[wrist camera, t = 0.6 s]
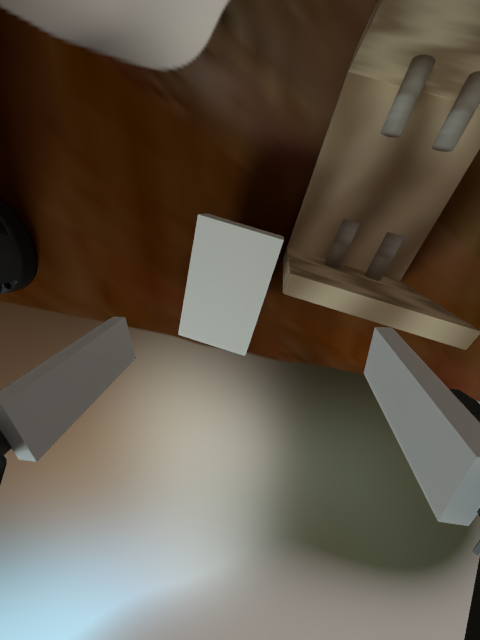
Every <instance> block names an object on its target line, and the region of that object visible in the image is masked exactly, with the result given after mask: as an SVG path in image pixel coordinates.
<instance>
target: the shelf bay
mask: <svg viewBox="0 0 480 640" xmlns="http://www.w3.org/2000/svg"><path fill="white" fill-rule="evenodd" d="M479 149H480V0H378V1H377V4H376V6H375V8H374V10H373V12H372V15H371V17H370V19H369V21H368V23H367V26H366V28H365V30H364V32H363V34H362V37H361V39H360V41H359V43H358V45H357V48H356V50H355V52H354V54H353V57H352V60H351V63H350V66H349V69H348V72H347V74H346V77H345V80H344V83H343V86H342V89H341V92H340V95H339V98H338V100H337V103H336V106H335V109H334V112H333V115H332V118H331V121H330V124H329V127H328V129H327V132H326V135H325V138H324V141H323V144H322V147H321V150H320V153H319V156H318V158H317V161H316V164H315V167H314V170H313V173H312V176H311V179H310V182H309V185H308V187H307V190H306V193H305V196H304V199H303V202H302V205H301V208H300V211H299V214H298V216H297V219H296V222H295V225H294V228H293V231H292V234H291V237H290V240H289V243H288V245H287V248H286V251H285V254H284V257H283V294H286V295H289V296H293V297H296V298H299V299H302V300H305V301H309V302H312V303H315V304H318V305H322V306H325V307H328V308H331V309H335V310H338V311H341V312H344V313H348V314H351V315H354V316H357V317H361V318H364V319H367V320H370V321H374V322H377V323H380V324H383V325H386V326H390V327H393V328H396V329H399V330H403V331H406V332H409V333H412V334H416V335H419V336H422V337H425V338H429V339H432V340H435V341H438V342H442V343H445V344H448V345H451V346H454V347H458V348H461V349H464V350H466V349H467V348H468V347H469V346H470V345H471V344H472V342H473V341H474V340H475V339H476V338H477V337H478V335H479V334H480V331H479V330H478V329H476V328H475V327H473V326H471V325H470V324H468V323H467V322H465V321H463V320H462V319H460V318H459V317H457V316H455V315H454V314H452V313H451V312H449V311H447V310H446V309H444V308H443V307H441V306H439V305H438V304H436V303H435V302H433V301H431V300H430V299H428V298H427V297H425V296H423V295H422V294H420V293H419V292H417V291H415V290H414V289H412V288H411V287H409V286H407V285H406V284H404V283H403V282H401V279H402V277H403V276H404V274H405V272H406V271H407V269H408V267H409V266H410V264H411V262H412V261H413V259H414V257H415V256H416V254H417V252H418V251H419V249H420V247H421V246H422V244H423V242H424V241H425V239H426V237H427V236H428V234H429V232H430V231H431V229H432V227H433V226H434V224H435V222H436V221H437V219H438V217H439V216H440V214H441V212H442V211H443V209H444V207H445V206H446V204H447V202H448V201H449V199H450V197H451V196H452V194H453V192H454V191H455V189H456V187H457V186H458V184H459V182H460V181H461V179H462V177H463V176H464V174H465V172H466V171H467V169H468V167H469V166H470V164H471V162H472V161H473V159H474V157H475V156H476V154H477V152H478V151H479Z"/></svg>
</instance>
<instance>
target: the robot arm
mask: <svg viewBox="0 0 480 640" xmlns="http://www.w3.org/2000/svg"><path fill="white" fill-rule="evenodd" d="M35 273H36V254H35V250H34V246H33V243H32V241H31V238H30V236H29V234H28V232H27V230H26V229H25V227H24V225H23V224H22V223H21V221H20V220H19V218H18V217H17V216H16V215H15V214H14V212H13V211H12V210H11V209H10V208H9V207H8V206H7V205H6V204H5V203H3V202H2V201H1V200H0V294H5V293H9V292H13V291H16V290H19V289H22V288H24V287H26V286H28V285H29V284H30V283H31V281H32V280H33V278H34V276H35ZM135 358H136V357H135V353H134V350H133V346H132V342H131V338H130V334H129V330H128V326H127V323H126V319H125V317H112V318H110V319H109V320H107V321H106V322H104V323H103V324H101V325H99V326H98V327H96V328H95V329H93V330H92V331H90V332H89V333H87V334H86V335H84V336H83V337H81V338H80V339H78V340H77V341H75V342H74V343H72V344H71V345H69V346H68V347H66V348H65V349H63V350H61V351H60V352H58V353H57V354H55V355H54V356H52V357H51V358H49V359H48V360H46V361H45V362H43V363H42V364H40V365H39V366H37V367H35V368H34V369H32V370H31V371H29V372H28V373H26V374H25V375H24V376H22V377H20V378H18V379H17V380H15V381H14V382H13V383H11V384H9V385H8V386H6V387H5V388H3V389H2V390H0V484H1V481H2V477H3V474H4V471H5V467H6V458H5V457H4V454H6V453H7V452H8V451H9V450H10V449H11V448H12V450H13V451H14V453H15V454H16V456H17V457H18V459H21V460H27V461H34V462H37V461H38V460H39V459H40V458H41V457H42V456H43V455H44V454H45V452H46V451H47V450H48V449H49V448H50V447H51V446H52V445H53V444H54V443H55V442H56V441H57V440H58V439H59V438H60V437H61V436H62V435H63V434H64V433H65V432H66V431H67V429H68V428H69V427H70V426H71V425H72V424H73V423H74V422H75V421H76V420H77V419H78V418H79V417H80V416H81V415H82V414H83V413H84V412H85V411H86V410H87V408H89V406H90V405H91V404H92V403H93V402H94V401H95V400H96V399H97V398H98V397H99V396H100V395H101V394H102V393H103V392H104V391H105V390H106V389H107V388H108V387H109V385H111V383H112V382H113V381H114V380H115V379H116V378H117V377H118V376H119V375H120V374H121V373H122V372H123V371H124V370H125V369H126V368H127V367H128V366H129V365H130V364H131V362H132V361H133V360H134V359H135ZM364 375H365V377H366V379H367V380H368V383H369V385H370V387H371V389H372V390H373V393H374V395H375V397H376V399H377V401H378V403H379V405H380V407H381V409H382V411H383V413H384V415H385V417H386V419H387V421H388V423H389V425H390V427H391V429H392V430H393V433H394V435H395V437H396V439H397V441H398V442H399V445H400V447H401V449H402V451H403V452H404V454H405V457H406V459H407V460H408V463H409V465H410V467H411V469H412V471H413V472H414V475H415V477H416V479H417V480H418V482H419V484H420V487H421V489H422V490H423V493H424V494H425V496H426V499H427V501H428V502H429V504H430V506H431V508H432V510H433V512H434V514H435V516H436V518H437V520H438V521H439V522H445V523H452V524H459V525H466V526H469V525H470V524H471V522H472V521H473V519H474V518H475V517H476V515H477V514H479V516H480V404H479V403H478V402H477V401H476V400H474V399H472V398H471V397H469V396H468V395H466V394H465V393H463V392H462V391H460V390H455V389H448V388H447V387H446V386H445V385H444V383H443V382H442V381H441V380H440V379H439V378H438V377H437V376H436V375H435V374H434V373H433V372H432V370H431V369H430V368H429V367H428V366H427V365H426V364H425V363H424V362H423V361H422V360H421V359H420V357H419V356H418V355H417V354H416V353H415V352H414V351H413V350H412V349H411V348H410V347H409V346H408V344H407V343H406V342H405V341H404V340H403V339H402V338H401V337H400V336H399V335H398V334H397V333H396V331H395V330H394V329H393V328H385V327H375V329H374V333H373V337H372V341H371V345H370V350H369V354H368V358H367V362H366V366H365V371H364ZM473 552H474V553H475V554H477V555H478V554H479V553H480V541H479V542H478V544H477V545H476V546H475V548H474V549H473ZM464 640H480V559H479V564H478V569H477V574H476V580H475V585H474V591H473V596H472V601H471V607H470V612H469V617H468V623H467V628H466V634H465V639H464Z"/></svg>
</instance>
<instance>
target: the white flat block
mask: <svg viewBox="0 0 480 640" xmlns="http://www.w3.org/2000/svg"><path fill="white" fill-rule="evenodd" d="M283 241H284V236H280V235H277V234H274V233H270V232H267V231H264V230H260V229H257V228H254V227H250V226H247V225H244V224H241V223H237V222H234V221H231V220H227V219H224V218H221V217H217V216H214V215H211V214H198V218H197V224H196V230H195V236H194V242H193V248H192V254H191V260H190V266H189V272H188V278H187V285H186V291H185V297H184V303H183V309H182V315H181V321H180V327H179V333H178V335H181V336H184V337H187V338H190V339H193V340H196V341H200V342H203V343H206V344H209V345H212V346H215V347H218V348H221V349H225V350H228V351H231V352H234V353H237V354H241V355H244V356H245V355H246V352H247V349H248V346H249V343H250V340H251V337H252V334H253V331H254V328H255V325H256V322H257V319H258V316H259V313H260V310H261V307H262V304H263V301H264V298H265V295H266V292H267V289H268V286H269V283H270V280H271V277H272V274H273V271H274V268H275V265H276V262H277V259H278V256H279V253H280V250H281V247H282V244H283Z"/></svg>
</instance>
